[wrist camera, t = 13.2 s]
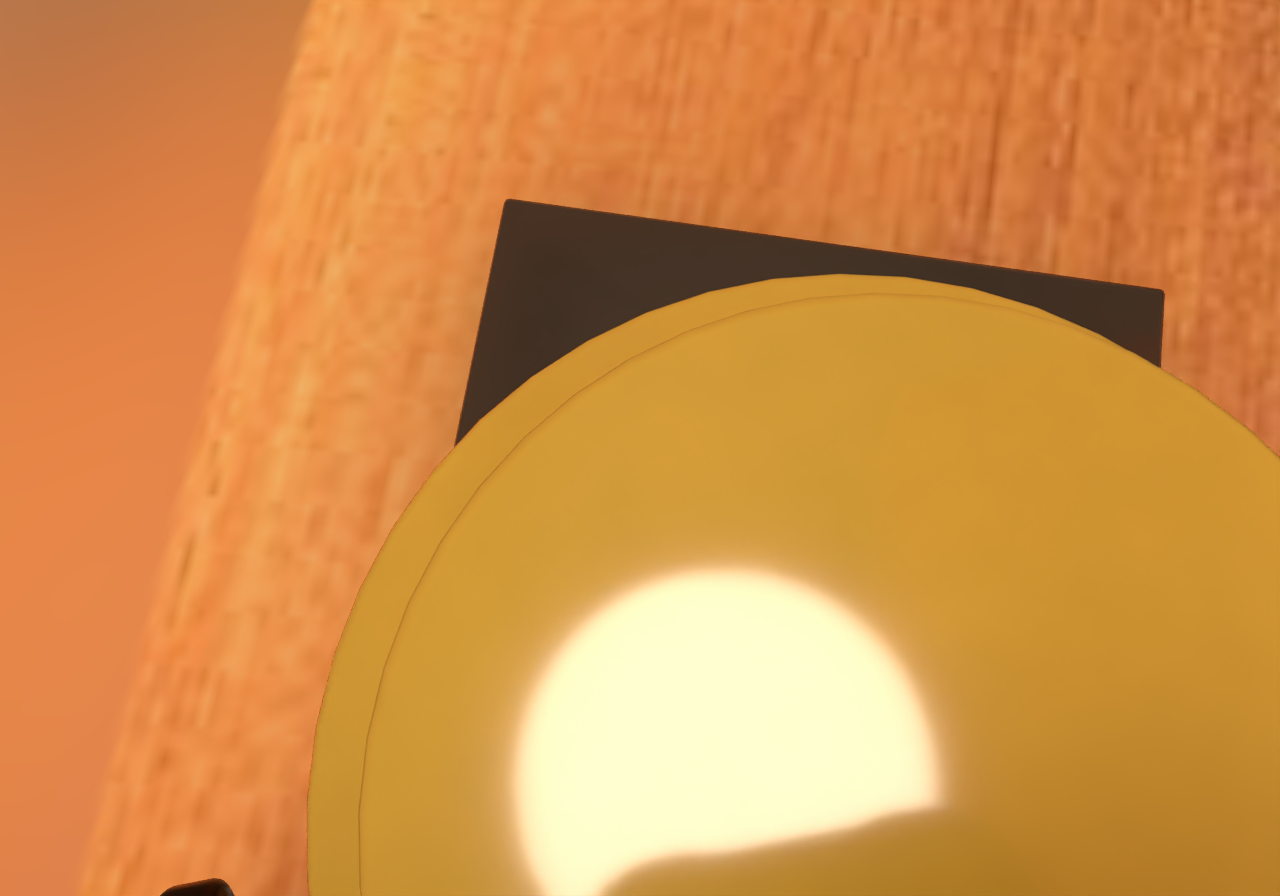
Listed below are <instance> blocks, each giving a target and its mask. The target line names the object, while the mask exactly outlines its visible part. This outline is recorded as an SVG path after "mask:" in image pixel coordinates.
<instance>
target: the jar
mask: <svg viewBox="0 0 1280 896" xmlns="http://www.w3.org/2000/svg"><path fill="white" fill-rule="evenodd" d="M307 882H308V890H309V896H1280V457H1279V456H1278V455H1276V454H1275V453H1274V452H1273V451H1272V450H1271V449H1270V448H1269V447H1268V446H1267V445H1266V444H1265V443H1264V442H1263V441H1262V440H1260V439H1259V438H1258V437H1257V436H1256V435H1255V434H1254V433H1253V432H1252V431H1251V430H1250V429H1249V428H1247V427H1246V426H1245V425H1243V424H1242V423H1241V422H1239V421H1238V420H1237V419H1235V418H1234V417H1233V416H1231V415H1230V414H1229V413H1227V412H1226V411H1225V410H1223V409H1222V408H1220V407H1219V406H1218V405H1216V404H1215V403H1214V402H1212V401H1211V400H1210V399H1208V398H1207V397H1206V396H1204V395H1203V394H1202V393H1200V392H1199V391H1198V390H1196V389H1195V388H1193V387H1192V386H1190V385H1189V384H1187V383H1185V382H1183V381H1182V380H1180V379H1178V378H1176V377H1175V376H1173V375H1171V374H1169V373H1168V372H1166V371H1164V370H1162V369H1161V368H1159V367H1157V366H1156V365H1154V364H1152V363H1150V362H1149V361H1147V360H1145V359H1143V358H1142V357H1140V356H1138V355H1136V354H1135V353H1133V352H1131V351H1128V350H1126V349H1124V348H1122V347H1121V346H1119V345H1117V344H1115V343H1114V342H1112V341H1110V340H1108V339H1107V338H1105V337H1103V336H1101V335H1100V334H1097V333H1095V332H1093V331H1090V330H1088V329H1086V328H1083V327H1081V326H1079V325H1076V324H1074V323H1072V322H1069V321H1067V320H1065V319H1062V318H1060V317H1058V316H1055V315H1053V314H1051V313H1048V312H1046V311H1044V310H1041V309H1039V308H1037V307H1034V306H1030V305H1027V304H1023V303H1020V302H1017V301H1013V300H1010V299H1006V298H1003V297H1000V296H996V295H993V294H989V293H986V292H983V291H979V290H976V289H972V288H967V287H961V286H956V285H950V284H944V283H938V282H932V281H926V280H920V279H914V278H908V277H894V276H872V275H850V274H831V275H818V276H805V277H791V278H778V279H769V280H765V281H760V282H755V283H750V284H745V285H740V286H735V287H730V288H725V289H720V290H715V291H710V292H706V293H703V294H700V295H697V296H694V297H691V298H688V299H685V300H682V301H679V302H676V303H673V304H670V305H667V306H664V307H661V308H658V309H655V310H652V311H649V312H646V313H644V314H642V315H640V316H638V317H636V318H634V319H632V320H630V321H627V322H625V323H623V324H621V325H619V326H617V327H615V328H613V329H611V330H609V331H607V332H605V333H602V334H600V335H598V336H596V337H594V338H592V339H590V340H588V341H586V342H584V343H583V344H581V345H580V346H578V347H577V348H575V349H574V350H572V351H571V352H569V353H567V354H566V355H564V356H563V357H561V358H560V359H558V360H557V361H555V362H553V363H552V364H550V365H549V366H547V367H546V368H544V369H543V370H541V371H540V372H538V373H536V374H535V375H533V376H532V377H530V378H529V379H528V380H527V381H526V382H524V383H523V384H522V385H521V386H520V387H518V388H517V389H516V390H515V391H514V392H512V393H511V394H510V395H509V396H508V397H507V398H505V399H504V400H503V401H502V402H501V403H499V404H498V405H497V406H496V407H495V408H493V409H492V410H491V411H490V412H489V413H488V414H486V415H485V416H484V417H483V418H482V419H480V420H479V421H478V422H477V423H476V425H475V426H474V427H473V428H472V429H471V430H470V431H469V432H468V433H467V434H466V435H465V436H464V438H463V439H462V440H461V441H460V442H459V443H458V444H457V445H456V446H455V447H454V448H453V449H452V451H451V452H450V453H449V454H448V455H447V456H446V457H445V458H444V459H443V460H442V461H441V462H440V464H439V465H438V466H437V467H436V468H435V469H434V470H433V471H432V473H431V474H430V476H429V477H428V478H427V480H426V481H425V483H424V484H423V485H422V487H421V488H420V490H419V491H418V492H417V494H416V495H415V497H414V498H413V499H412V501H411V502H410V504H409V505H408V506H407V508H406V509H405V511H404V512H403V513H402V515H401V516H400V518H399V519H398V520H397V522H396V523H395V525H394V526H393V528H392V529H391V531H390V533H389V535H388V537H387V539H386V541H385V542H384V544H383V546H382V548H381V550H380V552H379V554H378V555H377V557H376V559H375V561H374V563H373V565H372V566H371V568H370V570H369V572H368V574H367V576H366V578H365V579H364V581H363V583H362V585H361V587H360V589H359V591H358V594H357V597H356V599H355V602H354V604H353V607H352V609H351V612H350V615H349V617H348V620H347V622H346V625H345V628H344V630H343V633H342V635H341V638H340V640H339V643H338V646H337V648H336V651H335V653H334V656H333V660H332V664H331V668H330V672H329V676H328V680H327V684H326V688H325V692H324V696H323V700H322V704H321V708H320V712H319V716H318V720H317V724H316V729H315V738H314V746H313V754H312V762H311V770H310V779H309V787H308V795H307Z"/></svg>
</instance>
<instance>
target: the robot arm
mask: <svg viewBox="0 0 1280 896" xmlns="http://www.w3.org/2000/svg"><path fill="white" fill-rule="evenodd" d="M160 896H234V894H233V892H232V890H231V888H230V887H229V885H228V884H227V883H226V882H225V881H223V880H221V879H215V878H212V879H207V880H202V881H197V882H192V883H187V884H182V885H177V886H173V887H171V888H169V889H167V890H166V891H165V892H164V893H162V894H161V895H160Z"/></svg>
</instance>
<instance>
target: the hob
mask: <svg viewBox="0 0 1280 896" xmlns="http://www.w3.org/2000/svg"><path fill="white" fill-rule="evenodd" d="M831 274H850V275H872V276H894V277H908V278H914V279H920V280H926V281H932V282H938V283H944V284H950V285H956V286H961V287H967V288H972V289H976V290H979V291H983V292H986V293H989V294H993V295H996V296H1000V297H1003V298H1006V299H1010V300H1013V301H1017V302H1020V303H1023V304H1027V305H1030V306H1034V307H1037V308H1039V309H1041V310H1044V311H1046V312H1048V313H1051V314H1053V315H1055V316H1058V317H1060V318H1062V319H1065V320H1067V321H1069V322H1072V323H1074V324H1076V325H1079V326H1081V327H1083V328H1086V329H1088V330H1090V331H1093V332H1095V333H1097V334H1100V335H1101V336H1103V337H1105V338H1107V339H1108V340H1110V341H1112V342H1114V343H1115V344H1117V345H1119V346H1121V347H1122V348H1124V349H1126V350H1128V351H1131V352H1133V353H1135V354H1136V355H1138V356H1140V357H1142V358H1143V359H1145V360H1147V361H1149V362H1150V363H1152V364H1154V365H1156V366H1157V367H1159V368H1161V352H1162V335H1163V318H1164V301H1165V294H1164V291H1163V290H1161V289H1155V288H1148V287H1140V286H1133V285H1126V284H1119V283H1112V282H1104V281H1097V280H1090V279H1083V278H1076V277H1068V276H1061V275H1054V274H1047V273H1040V272H1033V271H1025V270H1018V269H1011V268H1004V267H997V266H989V265H982V264H975V263H968V262H961V261H953V260H946V259H939V258H932V257H925V256H917V255H910V254H903V253H896V252H889V251H882V250H874V249H867V248H860V247H853V246H846V245H838V244H831V243H824V242H817V241H810V240H802V239H795V238H788V237H781V236H774V235H767V234H759V233H752V232H745V231H738V230H731V229H723V228H716V227H709V226H702V225H695V224H687V223H680V222H673V221H666V220H659V219H652V218H644V217H637V216H630V215H623V214H616V213H608V212H601V211H594V210H587V209H580V208H572V207H565V206H558V205H551V204H544V203H536V202H529V201H522V200H515V199H506V201H505V203H504V205H503V210H502V215H501V219H500V224H499V229H498V234H497V239H496V244H495V249H494V254H493V258H492V263H491V268H490V273H489V278H488V283H487V288H486V293H485V297H484V302H483V307H482V312H481V317H480V322H479V327H478V332H477V336H476V341H475V346H474V351H473V356H472V361H471V366H470V371H469V375H468V380H467V385H466V390H465V395H464V400H463V405H462V410H461V414H460V419H459V424H458V429H457V434H456V439H455V444H454V447H455V446H456V445H457V444H458V443H459V442H460V441H461V440H462V439H463V438H464V436H465V435H466V434H467V433H468V432H469V431H470V430H471V429H472V428H473V427H474V426H475V425H476V423H477V422H478V421H479V420H480V419H482V418H483V417H484V416H485V415H486V414H488V413H489V412H490V411H491V410H492V409H493V408H495V407H496V406H497V405H498V404H499V403H501V402H502V401H503V400H504V399H505V398H507V397H508V396H509V395H510V394H511V393H512V392H514V391H515V390H516V389H517V388H518V387H520V386H521V385H522V384H523V383H524V382H526V381H527V380H528V379H529V378H530V377H532V376H533V375H535V374H536V373H538V372H540V371H541V370H543V369H544V368H546V367H547V366H549V365H550V364H552V363H553V362H555V361H557V360H558V359H560V358H561V357H563V356H564V355H566V354H567V353H569V352H571V351H572V350H574V349H575V348H577V347H578V346H580V345H581V344H583V343H584V342H586V341H588V340H590V339H592V338H594V337H596V336H598V335H600V334H602V333H605V332H607V331H609V330H611V329H613V328H615V327H617V326H619V325H621V324H623V323H625V322H627V321H630V320H632V319H634V318H636V317H638V316H640V315H642V314H644V313H646V312H649V311H652V310H655V309H658V308H661V307H664V306H667V305H670V304H673V303H676V302H679V301H682V300H685V299H688V298H691V297H694V296H697V295H700V294H703V293H706V292H710V291H715V290H720V289H725V288H730V287H735V286H740V285H745V284H750V283H755V282H760V281H765V280H769V279H778V278H791V277H805V276H818V275H831Z"/></svg>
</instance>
